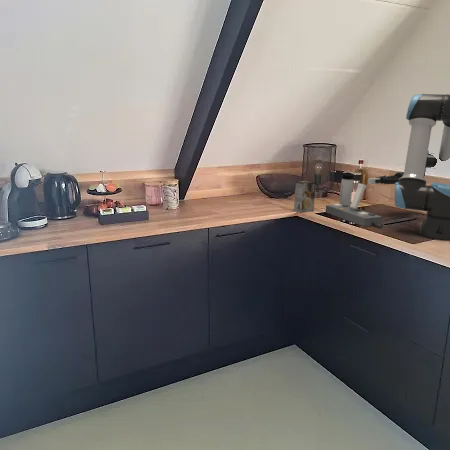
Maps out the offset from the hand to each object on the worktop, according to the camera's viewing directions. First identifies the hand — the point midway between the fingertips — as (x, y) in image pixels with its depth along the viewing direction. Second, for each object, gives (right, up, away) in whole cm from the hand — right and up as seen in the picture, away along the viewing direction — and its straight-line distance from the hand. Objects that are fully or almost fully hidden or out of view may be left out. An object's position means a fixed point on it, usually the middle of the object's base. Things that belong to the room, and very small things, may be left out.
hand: (369, 181), depth 218 cm
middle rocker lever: (-8, -14, 0) cm, 16 cm away
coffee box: (-31, -15, +15) cm, 37 cm away
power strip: (-7, -20, -2) cm, 21 cm away
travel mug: (-6, -13, +26) cm, 29 cm away
